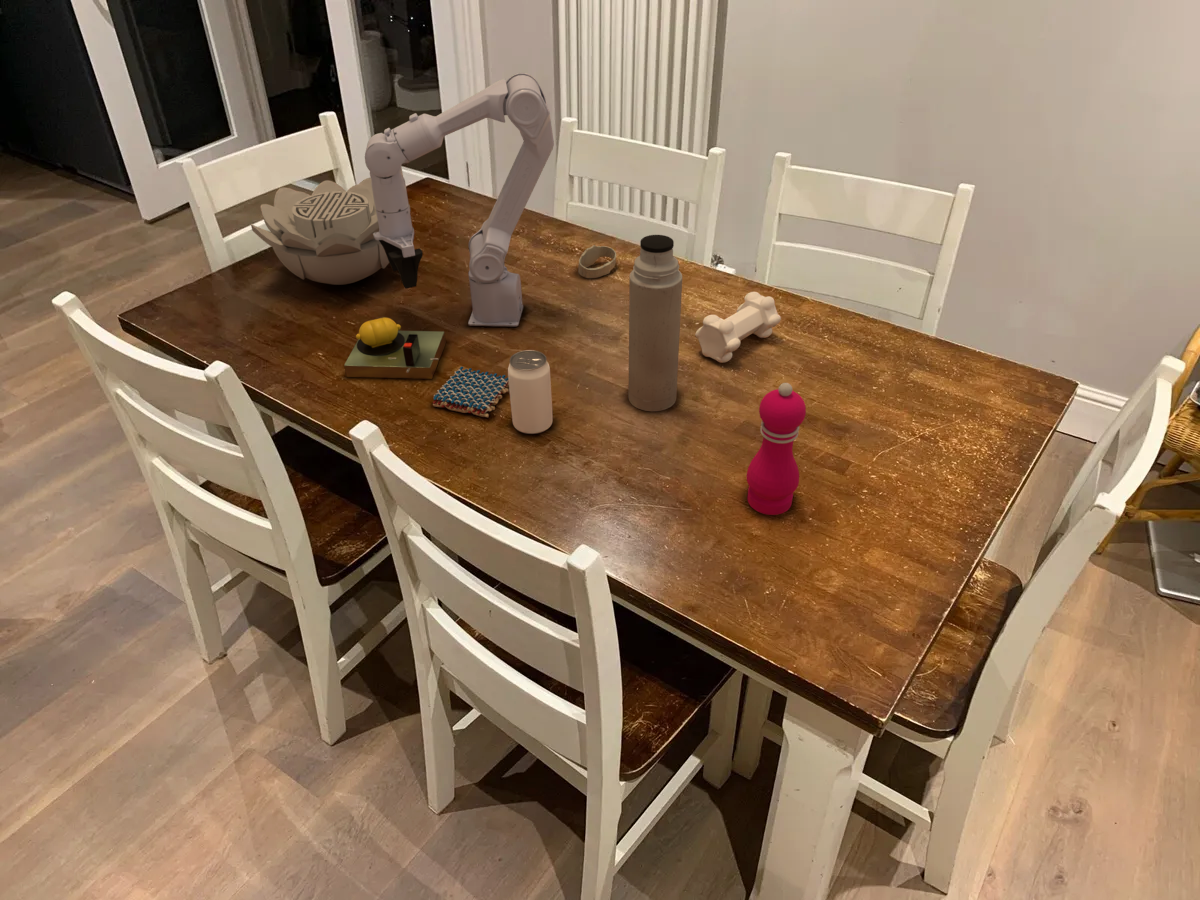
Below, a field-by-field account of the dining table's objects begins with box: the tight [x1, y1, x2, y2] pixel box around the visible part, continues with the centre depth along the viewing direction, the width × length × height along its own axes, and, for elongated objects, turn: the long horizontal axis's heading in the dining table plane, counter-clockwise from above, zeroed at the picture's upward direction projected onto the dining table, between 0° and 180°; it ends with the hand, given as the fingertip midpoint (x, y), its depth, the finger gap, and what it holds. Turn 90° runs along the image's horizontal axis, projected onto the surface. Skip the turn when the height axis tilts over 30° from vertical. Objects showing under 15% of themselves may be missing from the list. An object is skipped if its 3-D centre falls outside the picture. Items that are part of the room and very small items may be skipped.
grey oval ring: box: [577, 244, 617, 279], centre depth 178 cm, size 9×6×5 cm
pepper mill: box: [746, 382, 807, 516], centre depth 116 cm, size 7×7×20 cm
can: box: [507, 349, 554, 435], centre depth 134 cm, size 6×6×12 cm
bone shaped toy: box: [694, 291, 782, 364], centre depth 153 cm, size 15×9×8 cm, turn 135°
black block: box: [403, 334, 420, 366], centre depth 148 cm, size 5×2×4 cm, turn 176°
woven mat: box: [432, 366, 510, 419], centre depth 143 cm, size 10×11×2 cm
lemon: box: [355, 317, 402, 348], centre depth 152 cm, size 8×4×4 cm, turn 116°
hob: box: [343, 330, 447, 380], centre depth 152 cm, size 16×14×3 cm
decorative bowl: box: [250, 176, 411, 286], centre depth 176 cm, size 30×30×15 cm
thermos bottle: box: [627, 234, 683, 412], centre depth 134 cm, size 8×8×28 cm
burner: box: [356, 333, 405, 356], centre depth 153 cm, size 8×8×1 cm
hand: (404, 278), depth 158 cm, fingers open, 7 cm apart
